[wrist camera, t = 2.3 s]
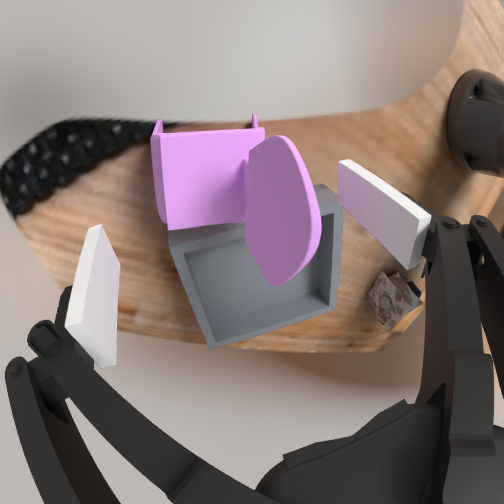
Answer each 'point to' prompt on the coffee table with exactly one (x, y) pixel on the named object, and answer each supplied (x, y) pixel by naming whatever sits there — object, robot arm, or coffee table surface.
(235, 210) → the toy chair
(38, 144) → the coffee table surface
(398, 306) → the grey brown rock
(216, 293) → the tray
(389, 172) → the coffee table surface
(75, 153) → the coffee table surface
